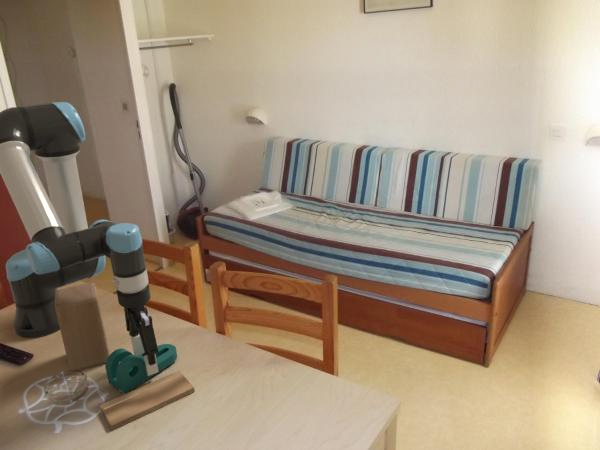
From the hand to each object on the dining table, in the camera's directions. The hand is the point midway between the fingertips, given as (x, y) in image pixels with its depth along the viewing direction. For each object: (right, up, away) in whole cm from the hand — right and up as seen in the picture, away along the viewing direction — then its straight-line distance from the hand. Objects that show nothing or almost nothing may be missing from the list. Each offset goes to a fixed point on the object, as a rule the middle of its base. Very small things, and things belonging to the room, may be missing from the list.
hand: (146, 365), depth 132 cm
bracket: (0, -1, +1) cm, 2 cm away
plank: (+3, -6, -10) cm, 12 cm away
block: (-18, 0, +7) cm, 19 cm away
